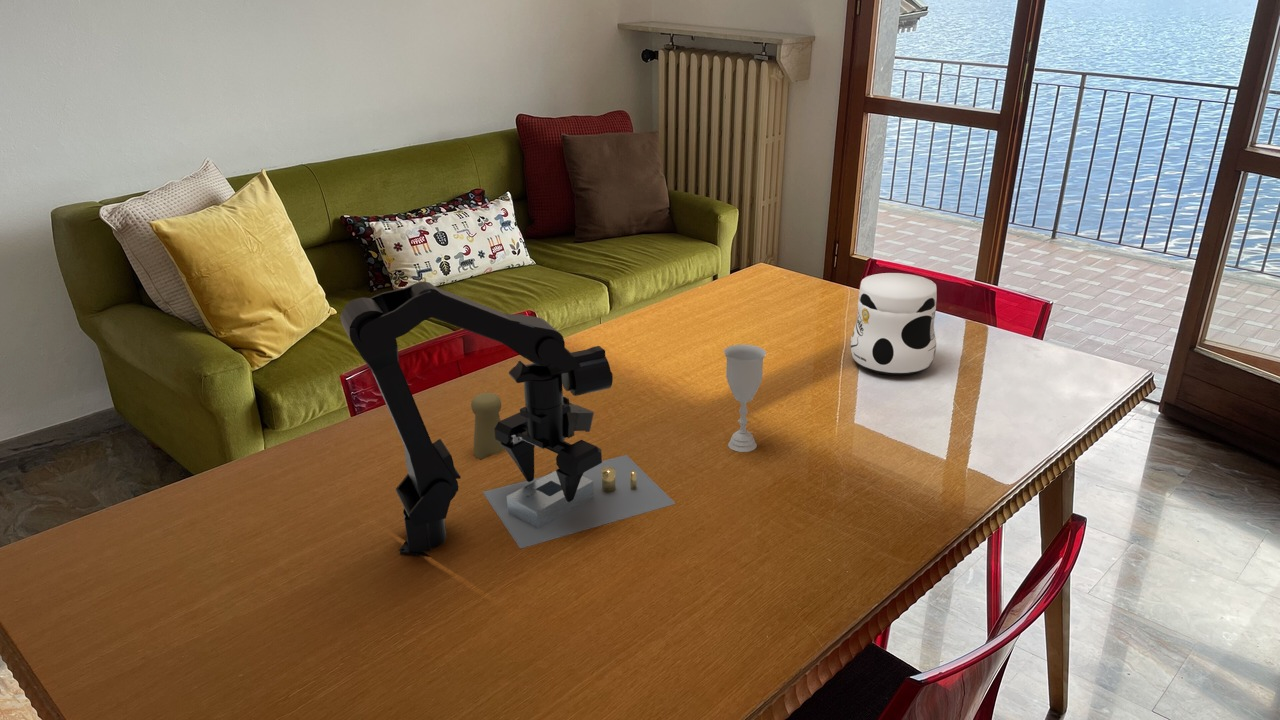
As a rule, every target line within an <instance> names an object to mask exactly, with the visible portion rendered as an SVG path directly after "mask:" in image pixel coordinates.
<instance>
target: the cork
mask: <svg viewBox="0 0 1280 720" xmlns="http://www.w3.org/2000/svg"><path fill="white" fill-rule="evenodd" d="M470 407H471V408H470V409H471V411H472V413H473V414H474V434H473V436H474V438H473V440H474V441H473V456H474V457H475V458H477V459H478V458H479V460H482V459H483V460H485V459H487V458H489V457H491V456H493V455H497V454H500V453H502V452H504V451H505V450H506V449H505V448H504V447H503V446H501V442H500V441H498V440H496V439H495V430H494V429H495V427H496V425H497V423H498V422H499V421H501V420H502V419H501V416H500V412H501V410H502V401H501V399H500V397H499V396H498V395H497V394H496V393H493V392H482V393H479V394H477V395H475V396H474V397H473V398H472V400H471V403H470Z"/></svg>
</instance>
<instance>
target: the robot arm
mask: <svg viewBox="0 0 1280 720" xmlns="http://www.w3.org/2000/svg"><path fill="white" fill-rule="evenodd" d="M431 318H432V319H436V320H438V321H441V322H443V323H445V324H446V323H447V324H449V325H451V326H455V327H458V328H460V329H463V330H465V331H469V332H471V333H473V334H475V335H479V336H482V337H484V338H486V339H487V338H488V339H490V340H493V341H496V342H499V343H501V344H503V345H504V346H506V347H508V348H509V349H511V350H512V351H513V352H515V353H517V354H518V355H519V356H521V357H523V358H524V359H526V360H528V361H529V362H531V363H528V364H526V363H524V362H523V361H521V360H519V361H517V363H516V365H515V366H513V367H512V368H511V369H510V370H509V371H508V375H509V376H510V377H511V379H513V381H515V382H516V384H521V383H523V391H524V403H525V406H523V407H521V408H519V412H517V413H515V414H512V415H510V416H508V417H505V418H504V419H500V420H501V421H499V422H498V423H497V425H496V427H495V429H494V430H495V439H496V440H498V441H500V442H501V446H503V447H504V448H505V449H504V450H505V451H506V452H507V453H508V455H509V456H510V458H511V459H512V460H513V462H514V463H515V465H516V466H517V468H518V469H519V471H520V473H521V474H522V475H523V477H524V478H525V481H528V482H531V481H533V480H534V479H535V447H537V448H540V449H543V450H545V449H546V450H548V451H551V452H553V453H555V454H557V455H556V456H555V462H556V463H555V464H556V466H557V467H558V468H557V469H556V470H555V471H556V472H557V475H558V478H559V481H560V484H561V487H562V490H563V493H564V496H565V498H566V501H567V502H570V501H572V500H573V499H574V497H575V494H576V491H577V488H578V485H579V482H580V480H581V477H582V475H583V473H584V472H586V471H588V470H589V469H591V468H593V467H595V466H597V465H599V464H601V463H602V461H603V456H602V449H601V448H600V447H598V446H597V445H595V444H592V443H589V442H587V441H586V440H583V439H579V440H578V441H575V442H574V443H569V442H567V441H565V439H566V438H567V439H570V438H572V437H574V436H575V432H586V433H589V432H590V431H591V428H592V424H593V419H594V414H595V412H594V411H593V410H590V409H587V408H585V407H583V406H581V405H577V404H574V403H571V402H570V399H569V398H568V397H566V396H564V395H563V394H564V393H563V388H564V390H565V391H566V392H570V393H571V395H572V396H574V397H577V396H581V395H585V394H591V393H595V392H600V391H603V390H608V389H611V388H612V385H613V381H614V379H613V378H614V377H613V372H612V370H611V367H610V363H609V361H608V359H607V356H606V350H605V349H604V348H603V347H601V346H600V345H597V346H592V347H590V348H587V349H582V350H576V351H572V352H571V351H570V350H568V349H567V347H566V344H565V338H564V336H563V335H562V333H560V332H559V330H557V329H556V328H555V327H553V326H552V324H550V323H549V322H548V321H547V320H545V319H544V318H541V317H537V316H531V315H526V314H522V313H521V314H519V313H517V314H516V313H515V314H510V313H505V312H502V311H499V310H496V309H494V308H491V307H489V306H486V305H484V304H482V303H478V302H476V301H473V300H471V299H469V298H466V297H463V296H460V295H457V294H455V293H452V292H450V291H447V290H445V289H442V288H440V287H438V286H437V287H436V286H435V285H434V284H432V283H431V282H428V281H418V282H416V283H413V284H411V285H409V286H406V287H402V288H398V289H394V290H388V291H384V292H380V293H378V294H376V295H374V296H371V297H358V298H354V299H352V300H351V301H349V302H348V303H347V304H346V305H345V306H344V307H343V309H342V311H341V313H340V322H341V326H342V328H343V329H344V331H345V333H346V334H347V337H348V338H349V340H350V342H351V344H352V345H353V346H354V348H355V349H356V351H357V353H359V355H360V356H361V358H362V359H363V361H364V362H365V363H366V366H368V368H369V369H370V370H371V373H372V375H373V377H374V379H375V381H376V384H377V387H378V389H379V391H380V393H381V395H382V398H383V401H384V403H385V405H386V407H387V409H388V411H389V414H390V416H391V418H392V419H391V420H392V421H393V423H394V425H395V428H396V430H397V432H398V435H399V437H400V439H401V441H402V443H403V448H404V457H405V463H406V464H405V465H406V468H407V469H406V470H407V474H406V475H405V477H404V478H403V479H402V481H401V482H399V484H398V485H397V486H396V488H395V492H396V494H397V496H398V498H399V500H400V502H401V504H402V506H403V519H404V527H405V533H406V540H405V541H404V542H403V543H402V545H401V547H400V548H399V550H398V552H399V554H400V555H406V556H407V555H408V556H416V557H417V556H418V557H429V558H430V557H431V555H429V554H428V553H429V552H431V550H432V549H435V548H437V547H440V546H441V545H443V543H444V542H446V539H447V531H446V524H445V523H446V522H445V519H446V518H447V515H448V511H449V508H450V505H451V501H452V500H453V499H454V498H455V496H456V495H457V493H458V492H459V481H458V480H460V479H461V475H460V474H459V472H458V471H457V469H456V467H455V464H454V460H453V455H452V454H451V453H450V451H449V449H448V447H446V445H445V443H444V442H443V441H442V439H441V438H439V439H437V440H436V441H434V442H432V440H431V437H430V434H429V432H428V429H427V427H426V425H425V423H424V419H422V415H421V413H420V411H419V409H418V406H417V404H416V401H415V399H414V396H413V394H412V390H411V388H410V387H409V384H408V382H407V380H406V377H405V375H404V372H403V370H402V368H401V365H400V360H399V349H398V342H397V339H398V338H399V337H401V336H405V335H406V334H408V333H409V332H410V331H412V330H413V329H415V328H416V327H417V326H419V325H420V324H421V323H422V322H424V321H427V320H430V319H431ZM426 552H427V553H426Z"/></svg>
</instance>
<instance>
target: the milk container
mask: <svg viewBox="0 0 1280 720" xmlns="http://www.w3.org/2000/svg"><path fill="white" fill-rule="evenodd" d="M937 292H938V291H937V284H936V283H935V282H934V281H932V280H931V279H929V278H927V277H925V276H924V277H923V276H920V275H917V274H910V273H901V272H885V273H883V272H882V273H877V274H876V273H875V274H872V275H867V276H866V277H864V278H862V280H861V281H860V286H859V291H858V299H857V317H856V322H855V326H854V328H853V331H852V334H851V337H850V350H851V351H850V353H851V356H852V359H853V360H854V361H855V363H856V364H858V365H859V366H860V367H862V368H864V369H865V370H868V371H870V372H874V373H877V374H882V375H889V376H906V375H907V376H908V375H914V374H917V373H920V372H923V371H925V370H927V369H928V368H929V367H930V366H931V364H932V363H933V361H934V358H935V355H936V351H937V339H936V338H937V337H936V334H935V333H936V332H935V317H936V313H937V310H936V309H937V300H938V299H937V298H938V297H937V295H938V294H937Z"/></svg>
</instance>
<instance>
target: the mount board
mask: <svg viewBox="0 0 1280 720" xmlns="http://www.w3.org/2000/svg"><path fill="white" fill-rule="evenodd" d="M604 467H613V468H615V482H616V490H615V491H614V492H611V493H606V492H603V490H602V472H601V470H602V468H604ZM630 471H636V483H637V489H635V490H631V488H630ZM544 476H545V475H543V476H540V477H534V480H533V481H531V482H528V481H527V480H524V481H520V482H516V483H512V484H509V485H504V486H501V487H498V488H497V487H496V488H493V489H489V490H486V491H482V494H483V495H484V497H485V498H486V500H487V501H488V503H489V504H490V506H491V507H492V509H493V511H494V512H495V513H496V514H497V516H498V518H499V519H500V521H501V522H502V524H503V526H504V527H505V528H506V530H507V531H508V533H509V535H511V538H512V539H513V540H514V542H515V543H516V545H517V546H518V547H519V550H521V549H525V548H529V547H531V546H535V545H539V544H542V543H546V542H549V541H552V540H555V539H560V538H562V537H566V536H570V535H574V534H576V533H580V532H583V531H586V530H590V529H594V528H596V527H597V528H598V527H600V526H604V525H607V524H610V523H614V522H618V521H622V520H625V519H628V518H631V517H635V516H639V515H643V514H646V513H649V512H652V511H656V510H660V509H663V508H666V507H667V508H668V507H670V506H673V505H676V504H677V503H676V501H674V500H673V499H672V498H671V497H670V496H669V495H668V494H667V493H666V492H665V491H664V490H663V489H661V487H660V486H659V485H658V484H657V483H656V482H655V481H654V480H653V479H651V477H649V475H647V473H645V472H644V470H643V469H641V468H640V466H638V465H637V464H636V463H635V461H634V460H632V458H631V457H629V455H628V454H624V455H621V456H616V457H612V458H609V459H604V460H602V463H601V464H599V465H597V466H595V467H593V468H591V469H589V470H588V471H586V472H584V473H583V475H582V476H584V477H586V478H588V479H590V480H592V481H593V486H594V498H592V499H590V500H588V501H587V502H585V503H583V504H581V505H579V506H578V507H576V508H574V509H572V510H571V511H569V512H567V513H565V514H564V515H562V516H560V517H558V518H557V519H555V520H553V521H551V522H549V523H548V524H546V525H544V526H542V527H541V528H539V529H537V528H535V527H533V526H532V525H530V524H528V523H526V522H524V521H522V520H521V519H519V518H517V517H515V516H513V515H512V514H510V513H508V506H507V496H508V495H510V494H512V493H514V492H515V491H517V490H519V489H521V488H523V487H525V486H527V485H529V484H531V483H533V482H535V481H537V480H539V479H540V478H542V477H544Z"/></svg>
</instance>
